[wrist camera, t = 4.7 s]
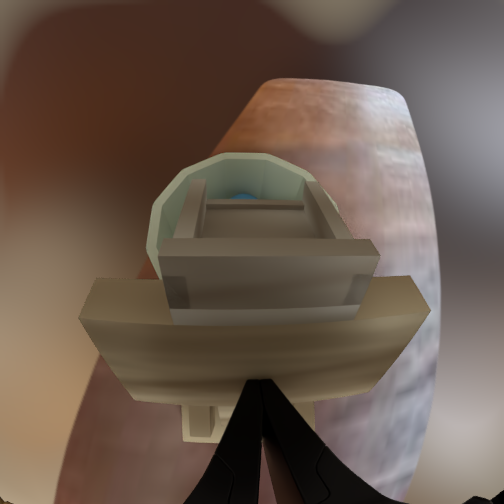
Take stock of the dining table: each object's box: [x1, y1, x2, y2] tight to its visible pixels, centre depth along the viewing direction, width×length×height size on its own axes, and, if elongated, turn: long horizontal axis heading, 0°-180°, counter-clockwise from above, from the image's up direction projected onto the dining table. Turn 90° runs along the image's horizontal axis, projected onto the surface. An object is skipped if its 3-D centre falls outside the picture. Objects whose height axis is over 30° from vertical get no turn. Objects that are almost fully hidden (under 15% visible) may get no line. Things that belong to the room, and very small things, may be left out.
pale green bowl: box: [146, 153, 339, 280], centre depth 18 cm, size 11×11×6 cm
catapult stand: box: [182, 401, 315, 443], centre depth 14 cm, size 5×8×6 cm, turn 92°
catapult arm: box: [79, 179, 431, 426], centre depth 11 cm, size 5×10×11 cm, turn 92°
